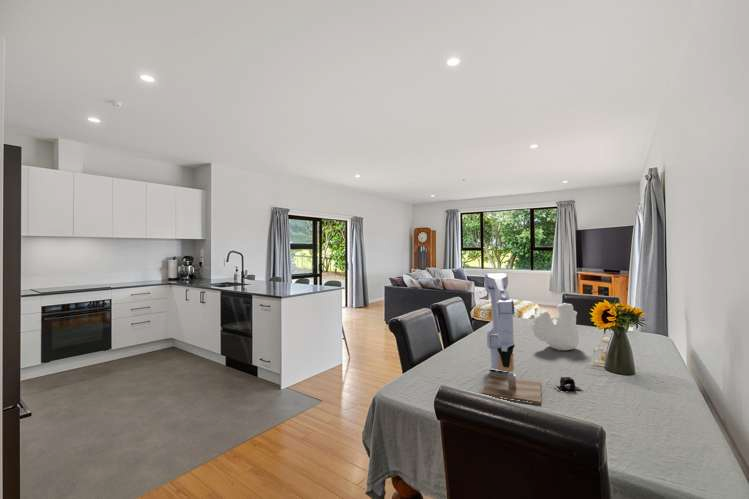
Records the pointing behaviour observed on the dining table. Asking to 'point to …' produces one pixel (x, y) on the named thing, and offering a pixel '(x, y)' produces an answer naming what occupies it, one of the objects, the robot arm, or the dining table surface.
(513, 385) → the post
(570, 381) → the black winged block
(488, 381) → the base board
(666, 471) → the dining table surface
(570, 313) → the decorative rooster
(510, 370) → the tan wooden cube
